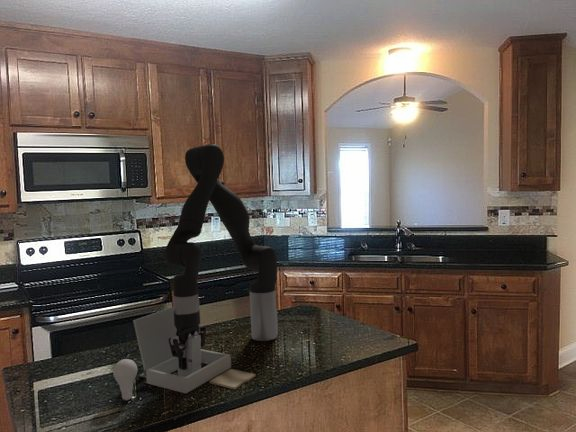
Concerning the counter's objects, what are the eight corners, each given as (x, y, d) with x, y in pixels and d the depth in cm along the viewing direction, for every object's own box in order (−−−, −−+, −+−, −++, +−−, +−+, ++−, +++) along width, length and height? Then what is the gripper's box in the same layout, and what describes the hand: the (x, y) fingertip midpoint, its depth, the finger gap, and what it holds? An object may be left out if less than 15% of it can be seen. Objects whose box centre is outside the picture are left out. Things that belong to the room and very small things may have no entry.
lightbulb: (142, 394, 133) (139, 355, 132) (135, 404, 127) (133, 363, 126) (119, 395, 133) (116, 356, 132) (112, 406, 127) (109, 364, 126)
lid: (193, 347, 157) (190, 347, 158) (183, 303, 157) (180, 303, 158) (145, 369, 140) (142, 370, 141) (134, 320, 140) (131, 320, 141)
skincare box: (177, 376, 144) (174, 336, 143) (187, 370, 148) (185, 331, 147) (193, 379, 141) (190, 339, 140) (203, 374, 145) (201, 334, 144)
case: (194, 359, 157) (193, 347, 157) (231, 367, 149) (230, 354, 149) (146, 383, 140) (145, 369, 140) (185, 393, 132) (185, 379, 132)
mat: (231, 370, 147) (230, 368, 147) (255, 376, 142) (255, 374, 142) (209, 383, 138) (209, 381, 138) (234, 389, 134) (234, 387, 134)
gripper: (193, 302, 151) (196, 356, 153) (159, 314, 139) (162, 372, 140) (212, 304, 147) (215, 359, 149) (178, 317, 135) (182, 377, 136)
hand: (189, 365), depth 145 cm, fingers open, 5 cm apart
